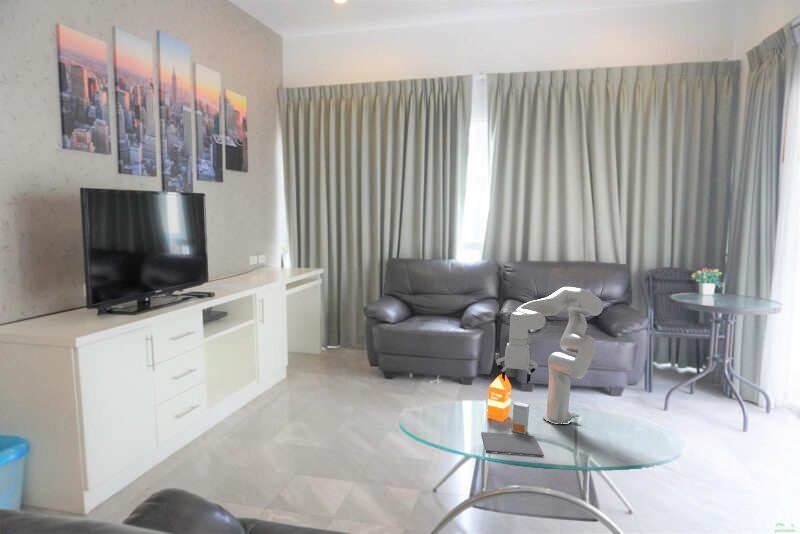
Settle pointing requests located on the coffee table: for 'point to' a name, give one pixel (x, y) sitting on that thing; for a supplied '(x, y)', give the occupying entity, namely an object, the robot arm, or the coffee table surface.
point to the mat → (511, 444)
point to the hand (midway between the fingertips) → (515, 381)
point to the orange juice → (499, 399)
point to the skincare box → (520, 417)
